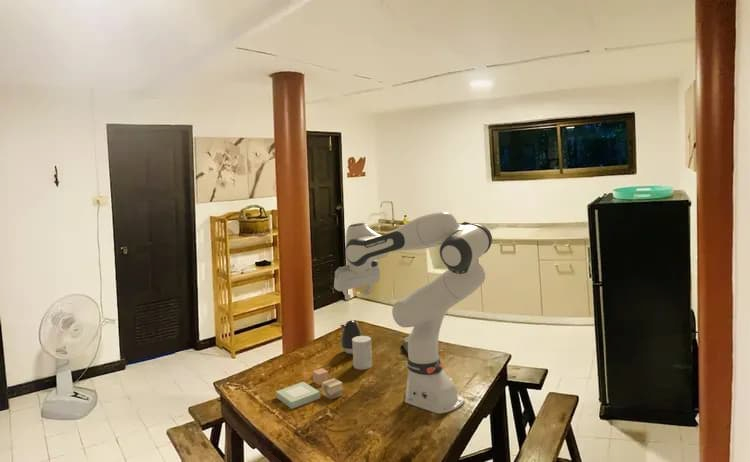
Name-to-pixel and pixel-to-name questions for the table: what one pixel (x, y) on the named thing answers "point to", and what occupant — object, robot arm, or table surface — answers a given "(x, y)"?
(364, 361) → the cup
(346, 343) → the pump dispenser
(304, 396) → the sage base
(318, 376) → the terracotta block
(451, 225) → the robot arm
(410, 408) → the table surface
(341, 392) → the beech block
